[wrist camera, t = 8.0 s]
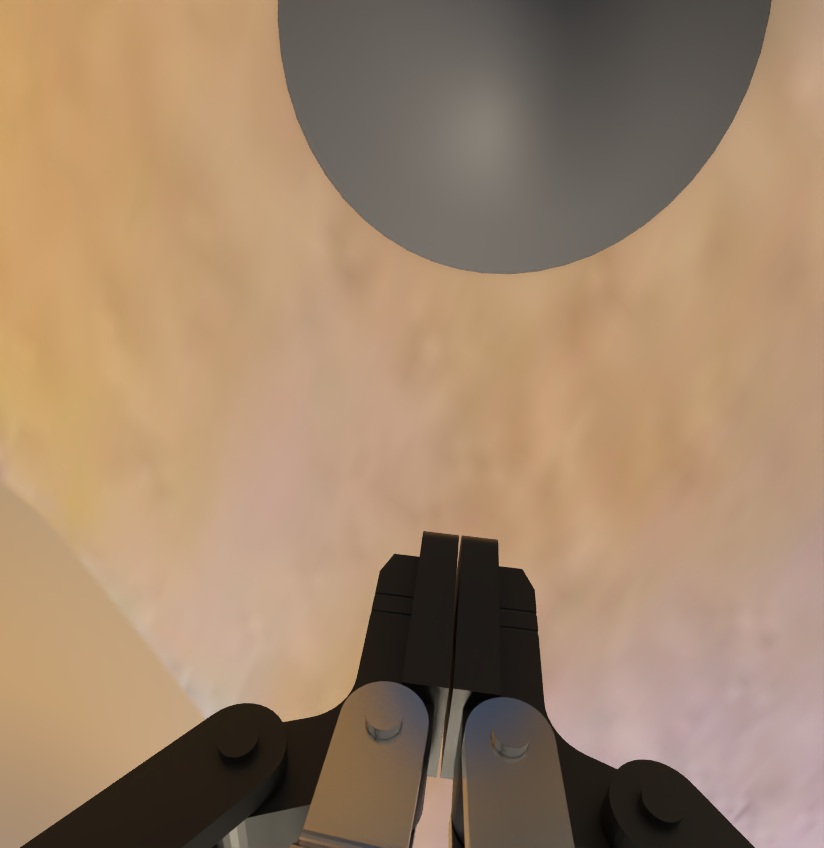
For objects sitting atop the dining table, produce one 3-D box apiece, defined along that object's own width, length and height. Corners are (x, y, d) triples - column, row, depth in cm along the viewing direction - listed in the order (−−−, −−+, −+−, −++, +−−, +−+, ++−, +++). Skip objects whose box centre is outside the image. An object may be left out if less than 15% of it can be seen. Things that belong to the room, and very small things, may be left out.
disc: (269, -317, 13) (266, -321, 13) (857, -298, 12) (863, -303, 12) (287, 252, 19) (285, 254, 19) (689, 290, 18) (691, 292, 18)
